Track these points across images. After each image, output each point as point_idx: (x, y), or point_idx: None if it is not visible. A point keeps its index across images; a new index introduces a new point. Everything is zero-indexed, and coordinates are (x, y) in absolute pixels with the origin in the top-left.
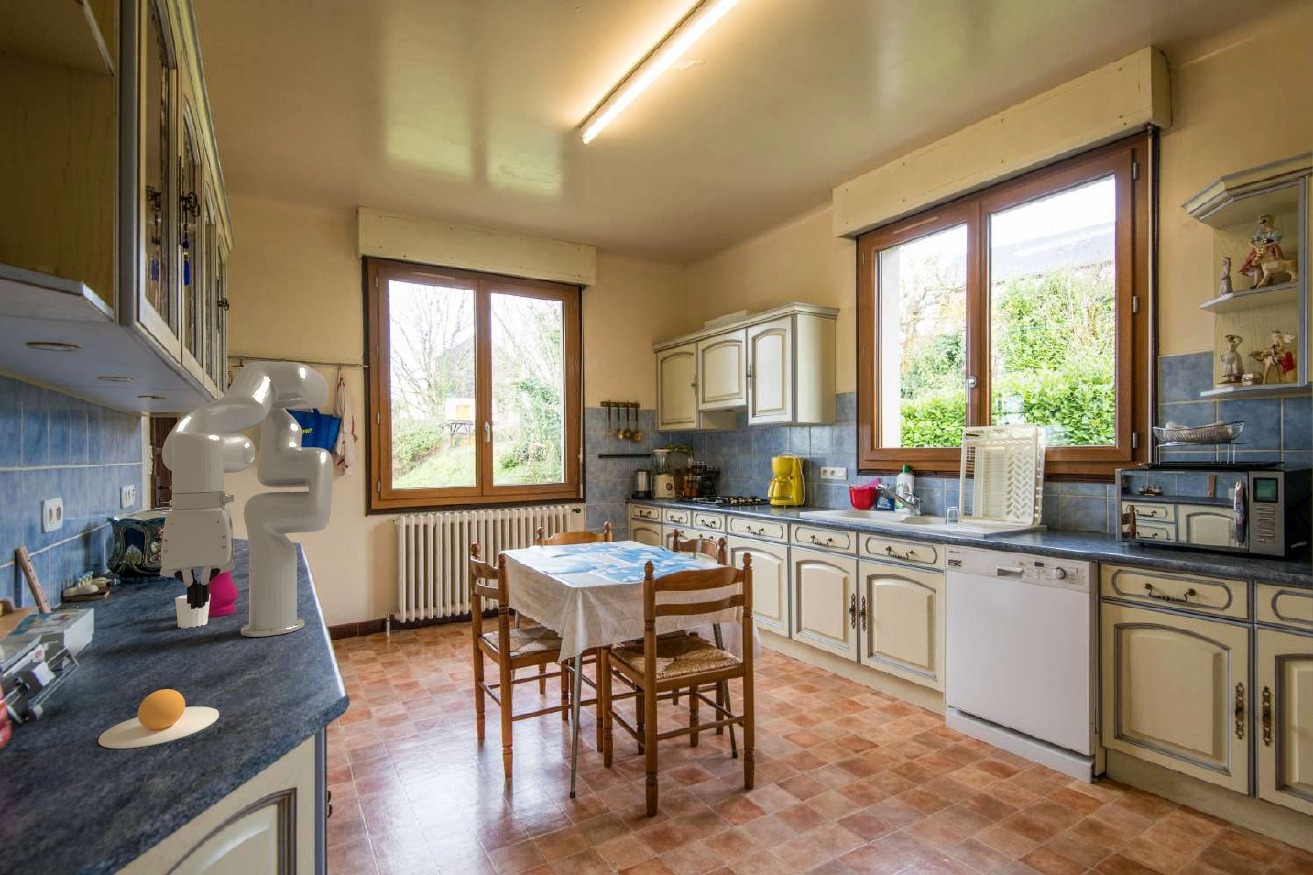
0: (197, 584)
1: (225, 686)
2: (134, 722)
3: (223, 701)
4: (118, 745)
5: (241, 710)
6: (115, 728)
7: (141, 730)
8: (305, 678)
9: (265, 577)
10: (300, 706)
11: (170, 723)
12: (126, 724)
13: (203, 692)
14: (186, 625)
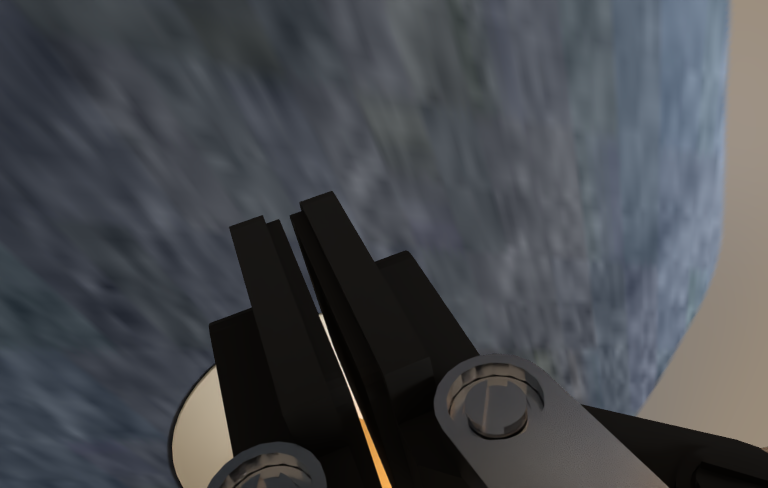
0: (352, 441)
1: (362, 101)
2: (221, 417)
3: (420, 262)
4: None
5: (498, 330)
6: (192, 453)
7: None
8: (649, 58)
9: None
10: (638, 309)
11: None
12: (205, 430)
13: (298, 164)
14: None
